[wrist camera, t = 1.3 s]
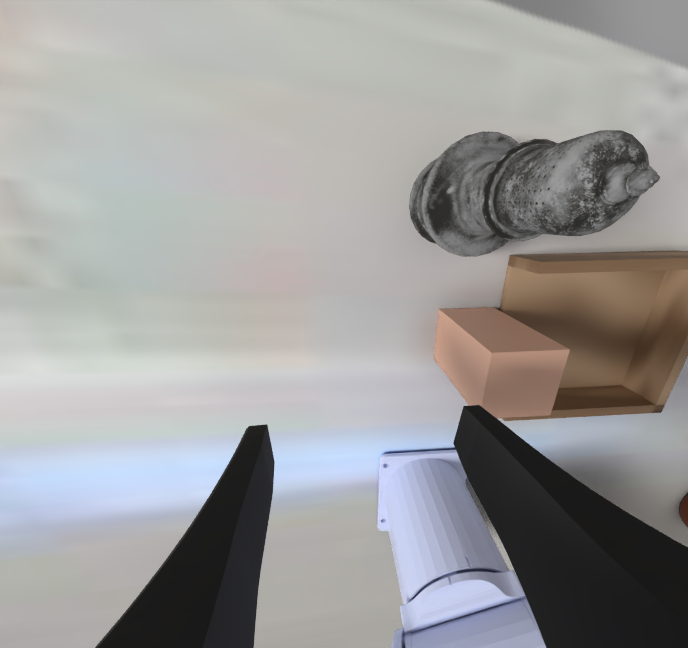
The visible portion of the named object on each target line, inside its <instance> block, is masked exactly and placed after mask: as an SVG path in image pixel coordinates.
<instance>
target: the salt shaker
mask: <svg viewBox="0 0 688 648" xmlns="http://www.w3.org/2000/svg"><path fill="white" fill-rule="evenodd" d="M659 178H660V177H659V175H657V173H656V172H655V171H654V170H653V169H652V168H651V167H650V166H649V160H648V154H647V152H646V150H645V148H644V146H643V145H642V144H641V143H640V142H639V141H638V140H637V139H636V138H635V137H634V136H633V135H631V134H629V133H626V132H624V131H613V130H607V131H597V132H594V133H590V134H587V135H584V136H580V137H577V138H574V139H571V140H567V141H564V142H561V143H555V142H553V141H550V140H547V139H534V140H530V141H527V142H524V143H520V144H519V143H518V142H517V141H515V140H514V139H513V138H512V137H509V136H507V135H504V134H501V133H499V132H479V133H476V134H472V135H468V136H466V137H464V138H462V139H461V140H459V141H457V142H456V143H454V144H452V145H451V146H450V147H449V148H448V149H447V150H446V151H445V152H444V153H443V154H442V155H441V156H440V157H439V158H438V159H436V160H434V161H433V162H431V163H430V164H429V165H428V166H427V167H426V168H425V169H424V170H423V171H422V172H421V173H420V174H419V176H418V178H417V179H416V181H415V183H414V185H413V188H412V191H411V194H410V205H409V208H410V215H411V219H412V222H413V224H414V226H415V228H416V230H417V231H418V232H419V233H420V234H421V236H422V237H424V238H425V239H427V240H428V241H430V242H433V243H436V244H438V245H439V246H440V247H442V248H443V249H445V250H446V251H448V252H449V253H453V254H456V255H459V256H480V255H483V254H487V253H490V252H492V251H494V250H496V249H498V248H500V247H501V246H503V245H504V244H505V243H507V242H508V241H525V240H528V239H532V238H535V237H537V236H539V235H540V234H553V235H565V236H582V235H587V234H591V233H595V232H598V231H601V230H603V229H605V228H607V227H609V226H610V225H612V224H613V223H615V222H616V221H617V220H618V219H620V218H621V217H622V216H623V215H625V214H626V213H627V212H628V211H629V210H630V209H631V208H632V206H633V205H634V204H635V203H636V202H637V200H638V198H639V197H640V195H641V194H643V193H644V192H646V191H647V190H648V189H649V188H650V187H652V186H653V185H654V184H655V183H656V182H657V181H658V180H659Z"/></svg>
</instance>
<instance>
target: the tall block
mask: <svg viewBox="0 0 688 648" xmlns="http://www.w3.org/2000/svg"><path fill="white" fill-rule="evenodd" d="M569 351H570V349H568V348H566V347H564V346H563V345H561V344H559V343H557V342H555V341H554V340H552V339H550V338H548V337H546V336H545V335H543V334H541V333H539V332H537V331H535V330H534V329H532V328H530V327H528V326H526V325H525V324H523V323H521V322H519V321H517V320H516V319H514V318H512V317H510V316H508V315H506V314H505V313H503V312H501V311H499V310H497V309H496V308H494V307H483V308H455V309H439V315H438V324H437V333H436V343H435V352H434V359H435V361H436V362H437V363H438V365H439V366H440V367H441V369H442V370H443V371H444V373H445V374H446V375H447V377H448V378H449V379H450V381H451V382H452V383H453V385H454V386H455V387H456V389H457V390H458V391H459V393H460V394H461V395H462V397H463V398H464V399H465V401H466V402H467V403H468V405H469V406H472V405H480V406H481V407H483V408H484V409H485V410H487V411H488V412H489V413H490V414H492V415H493V416H494V417H495V418H509V417H528V416H546V415H551V412H552V408H553V405H554V402H555V398H556V395H557V392H558V388H559V385H560V381H561V378H562V375H563V371H564V368H565V365H566V361H567V358H568V354H569Z"/></svg>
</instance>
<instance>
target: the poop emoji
mask: <svg viewBox="0 0 688 648" xmlns="http://www.w3.org/2000/svg"><path fill="white" fill-rule="evenodd" d="M679 511H680V516H681V519H682V521H683V522H684V524H685V525H686V526H687V527H688V494H687V495H686V496H685V497H684V498H683V500H682V502H681V504H680V509H679Z"/></svg>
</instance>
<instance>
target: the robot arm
mask: <svg viewBox="0 0 688 648" xmlns="http://www.w3.org/2000/svg"><path fill="white" fill-rule="evenodd" d="M454 446H455V448H456V450H442V451H425V452H408V453H391V454H383V455H381V456H380V464H379V492H378V520H377V525H378V529H379V530H380V531H389V535H390V540H391V545H392V550H393V555H394V560H395V565H396V571H397V576H398V581H399V586H400V591H401V596H402V600H403V604H404V605H402V606H400V611H401V617H402V622H403V628H400V629H398V630H396V632H395V633H394V637H393V642H392V645H391V648H688V547H686V546H684V545H682V544H680V543H679V542H677V541H675V540H673V539H671V538H670V537H668V536H666V535H664V534H663V533H661V532H659V531H658V530H656V529H654V528H652V527H651V526H649V525H647V524H646V523H644V522H642V521H640V520H639V519H637V518H635V517H634V516H632V515H630V514H629V513H627V512H625V511H624V510H622V509H621V508H619V507H617V506H616V505H614V504H613V503H611V502H610V501H608V500H607V499H605V498H603V497H602V496H600V495H599V494H597V493H596V492H594V491H593V490H591V489H590V488H588V487H587V486H585V485H584V484H582V483H581V482H579V481H578V480H576V479H575V478H574V477H572V476H571V475H569V474H568V473H567V472H565V471H564V470H562V469H561V468H560V467H558V466H557V465H555V464H554V463H553V462H551V461H550V460H549V459H547V458H546V457H545V456H543V455H542V454H541V453H539V452H538V451H537V450H536V449H534V448H533V447H532V446H530V445H529V444H528V443H526V442H525V441H524V440H523V439H521V438H520V437H519V436H518V435H516V434H515V433H514V432H513V431H511V430H510V429H509V428H508V427H506V426H505V425H504V424H503V423H501V422H500V421H499V420H498V419H497V418H495V417H494V416H493V415H492V414H490V413H489V412H488V411H487V410H485V409H484V408H483V407H481V406H480V405H472V406H464V407H463V411H462V414H461V418H460V421H459V425H458V429H457V432H456V436H455V440H454ZM467 477H468V479H469V481H470V483H471V485H472V487H473V488H474V490H475V492H476V494H477V496H478V498H479V500H480V502H481V504H482V505H483V507H484V509H485V511H486V513H487V515H488V517H489V519H490V520H491V522H492V524H493V526H494V528H495V530H496V532H497V534H498V535H499V537H500V539H501V541H502V543H503V545H504V548H505V550H506V552H507V554H508V556H509V558H510V561H511V563H512V565H513V568H514V570H515V572H516V574H515V572H514V571H513V570H511V571H510V570H509V568H508V566H507V565H506V563H505V561H504V559H503V557H502V555H501V553H500V551H499V549H498V547H497V545H496V543H495V541H494V539H493V537H492V535H491V533H490V531H489V530H488V528H487V526H486V524H485V522H484V520H483V518H482V516H481V514H480V512H479V510H478V508H477V506H476V504H475V502H474V500H473V498H472V496H471V495H470V493H469V491H468V489H467V487H466V485H465V484H466V478H467ZM273 478H274V458H273V452H272V447H271V442H270V437H269V432H268V426H267V425H257V426H249V427H248V428H247V429H246V431H245V433H244V435H243V437H242V439H241V441H240V443H239V445H238V447H237V449H236V451H235V453H234V455H233V457H232V458H231V460H230V462H229V464H228V466H227V467H226V469H225V471H224V473H223V474H222V476H221V478H220V479H219V481H218V483H217V485H216V486H215V488H214V490H213V491H212V493H211V494H210V496H209V498H208V499H207V501H206V502H205V504H204V505H203V507H202V508H201V510H200V512H199V513H198V515H197V516H196V518H195V519H194V521H193V522H192V524H191V525H190V527H189V528H188V530H187V531H186V533H185V534H184V535H183V537H182V538H181V540H180V541H179V543H178V544H177V545H176V547H175V548H174V549H173V551H172V552H171V554H170V555H169V556H168V558H167V559H166V560H165V562H164V563H163V564H162V566H161V567H160V568H159V570H158V571H157V572H156V574H155V575H154V576H153V577H152V579H151V580H150V581H149V583H148V584H147V585H146V586H145V588H144V589H143V590H142V592H141V593H140V594H139V595H138V597H137V598H136V599H135V601H134V602H133V603H132V604H131V605H130V607H129V608H128V609H127V610H126V612H125V613H124V614H123V615H122V617H121V618H120V619H119V620H118V621H117V623H116V624H115V625H114V626H113V627H112V628H111V630H110V631H109V632H108V633H107V634H106V635H105V637H104V638H103V639H102V640H101V641H100V642H99V644H98V645H97V646H96V647H95V648H253V646H254V633H255V620H256V608H257V596H258V586H259V578H260V570H261V564H262V557H263V551H264V545H265V539H266V532H267V526H268V520H269V513H270V507H271V500H272V494H273ZM516 575H517V576H516ZM517 577H518V578H517Z"/></svg>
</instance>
